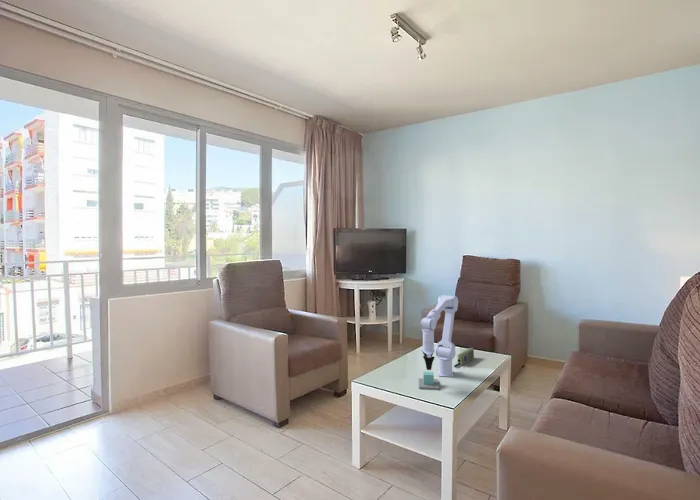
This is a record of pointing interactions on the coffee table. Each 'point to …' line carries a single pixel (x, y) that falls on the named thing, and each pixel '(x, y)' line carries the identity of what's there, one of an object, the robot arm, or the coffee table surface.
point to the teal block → (428, 378)
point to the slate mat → (433, 387)
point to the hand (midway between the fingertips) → (428, 367)
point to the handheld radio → (465, 356)
